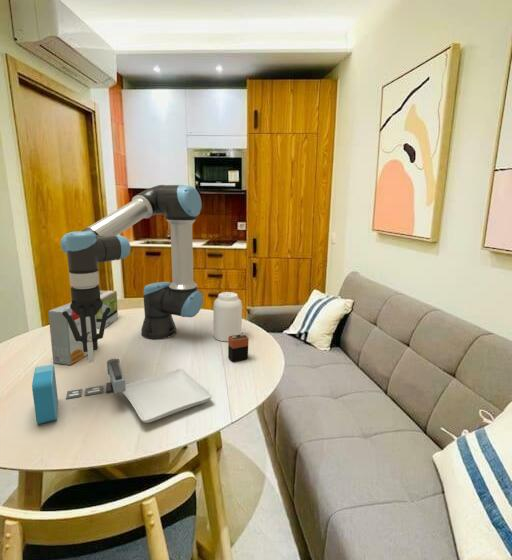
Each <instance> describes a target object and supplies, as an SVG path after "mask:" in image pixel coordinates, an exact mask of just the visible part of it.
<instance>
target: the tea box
mask: <svg viewBox="0 0 512 560" xmlns="http://www.w3.org/2000/svg"><path fill="white" fill-rule="evenodd" d="M100 298H101V301H102V302H103V304H104V305H106V306H110V307H111V310H110V312H109V314H108V315H107V319H106V324H105V329H106V328H107V327H108V326H110V325H111V324H112V323H114V322H115V321H116V320H118V317H119V316H118V314H119V312H118V293H117V290H101V289H100ZM102 315H103V312H102V308H101V309H100V310H99V311H98V313H97V314H96V325H97V330H100V325H101V320H102Z"/></svg>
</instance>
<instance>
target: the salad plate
mask: <svg viewBox="0 0 512 560" xmlns="http://www.w3.org/2000/svg"><path fill="white" fill-rule="evenodd" d="M125 387H126V391H124V392H121V393H122V395H124V397H126V399H127V400H128V401H129V403H130V404H131V405H132V407H133V408H134V410H135V412H136V414H137V415H138V418H139V419H140V421H142V422H143V423H152V422H156V421H157V420H160V419H163V418H165V417H168V416H171V415H173V414H177V413H179V412H182V411H184V410H187V409H190V408H192V407H196V406H199V405H201V404H204V403H206V402H208V401H209V400H211V399H212V397H213V395H212V394H211V393H210V391H209V390H208V389H206V388H205V387H204V386H203V385H201V383H199V382H198V381H197V380H196V379H195V378H194V377H192V376H191V375H190V374H189V373H188V372H187V371H186V370H184V368H178V369H174V370H171V371H168V372H164V373H160V374H157V375H152V376H150V377H145V378H142V379H139V380H137V381H133V382H130V383H125Z"/></svg>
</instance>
